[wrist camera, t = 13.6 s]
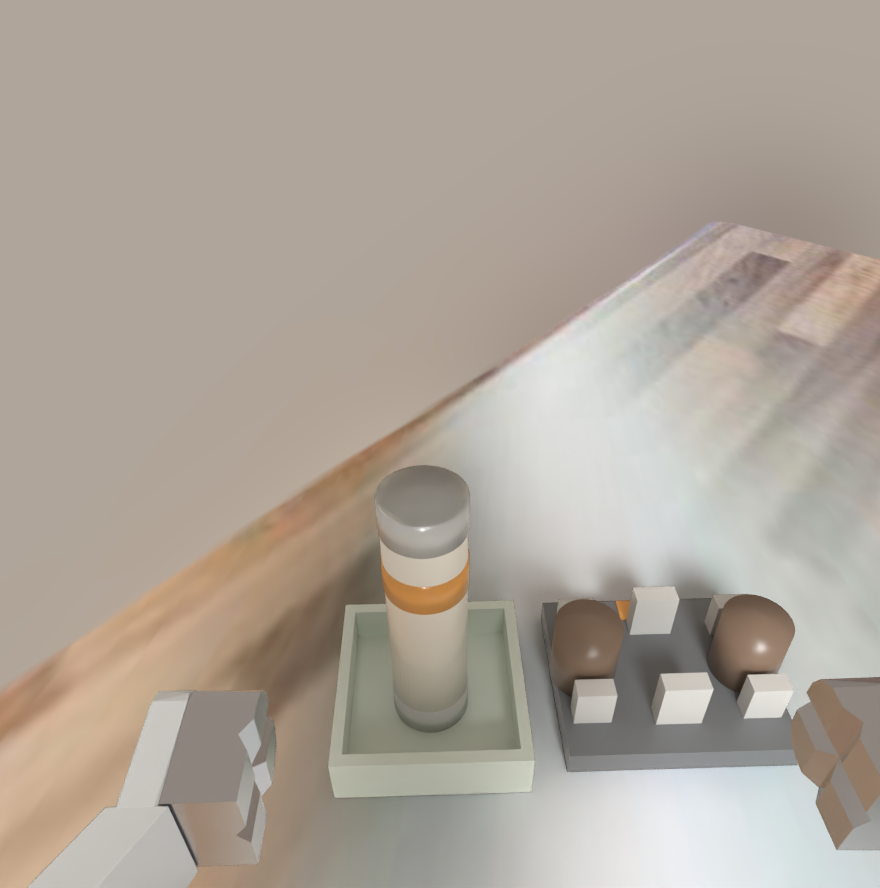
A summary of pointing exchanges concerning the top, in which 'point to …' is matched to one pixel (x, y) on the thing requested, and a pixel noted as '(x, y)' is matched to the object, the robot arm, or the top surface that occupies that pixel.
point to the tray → (441, 753)
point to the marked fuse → (426, 592)
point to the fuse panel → (670, 696)
